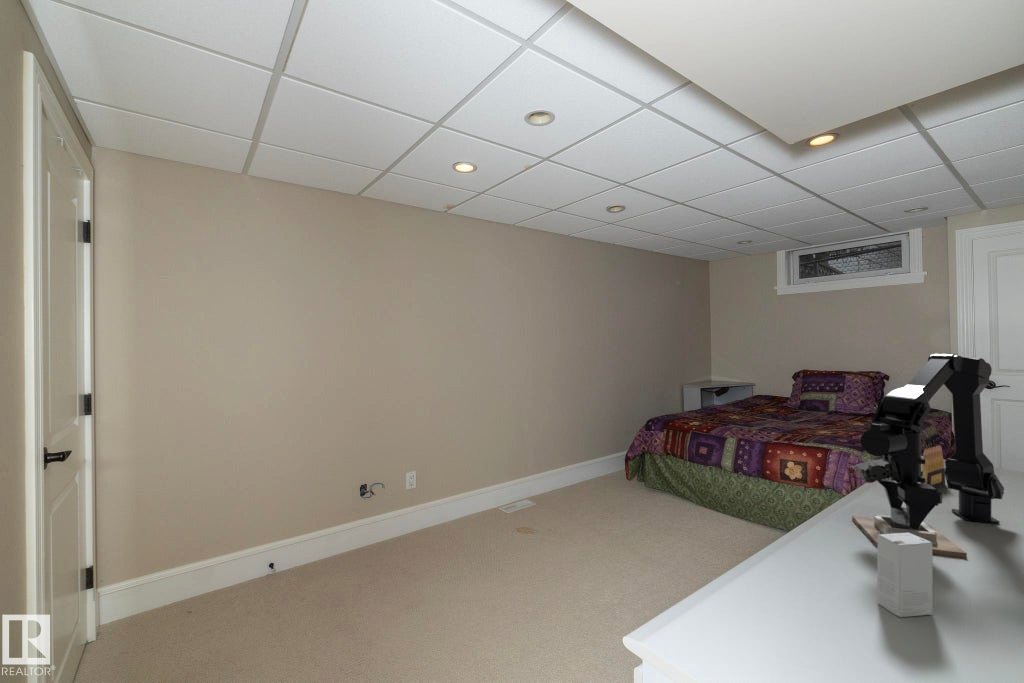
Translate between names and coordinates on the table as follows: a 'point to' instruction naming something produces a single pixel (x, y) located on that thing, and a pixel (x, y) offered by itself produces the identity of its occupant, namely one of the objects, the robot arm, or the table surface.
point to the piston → (900, 518)
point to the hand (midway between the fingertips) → (904, 520)
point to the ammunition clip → (933, 467)
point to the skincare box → (904, 574)
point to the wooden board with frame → (925, 531)
